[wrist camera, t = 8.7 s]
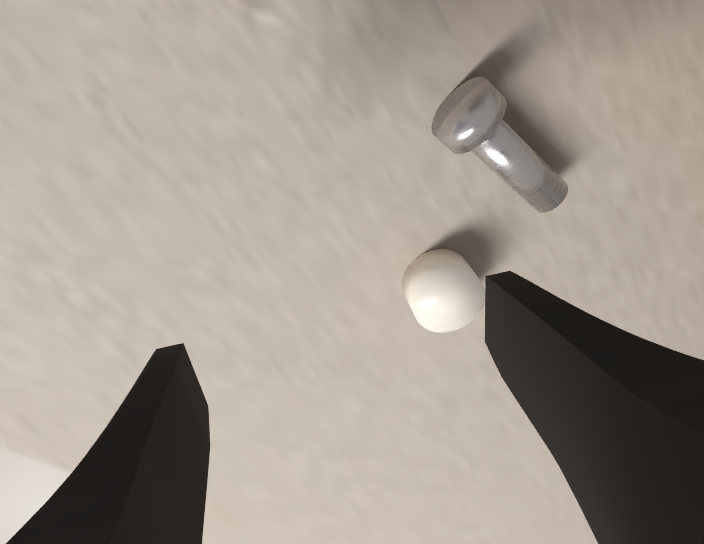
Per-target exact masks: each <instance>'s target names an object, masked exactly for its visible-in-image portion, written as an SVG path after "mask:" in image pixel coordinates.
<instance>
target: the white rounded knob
mask: <svg viewBox="0 0 704 544" xmlns="http://www.w3.org/2000/svg"><path fill="white" fill-rule="evenodd" d="M402 289H403V292H404V295H405V297H406V299H407V301H408V303H409V305H410V307H411V309H412V311H413V313H414V315H415V317H416V319H417V321H418V322H419V324H420V325H421V326H423V327H424V328H426V329H427V330H430V331H433V332H450V331H454V330H457V329H459V328H462V327H463V326H465V325H467V324H468V323H470V322H471V321H472V320H473V319H474V318H475V317H476V316H477V315H478V313H479V312H480V310H481V309H482V306H483V304H484V301H485V289H484V286H483V284H482V282H481V281H480V279H479V278H478V277H477V275H476V274H475V273H474V271H473V270H472V268H471V267H470V266H469V264H468V263H467V262H466V260H465V259H464V258H463V257H462V256H461V255H460V254H459V253H457V252H455V251H453V250H449V249H436V250H431V251H428V252H426V253H424V254H422V255H420V256H419V257H417V258H416V259H415V260H414V261H413V262H412V263H411V264H410V265H409V266H408V268H407V269H406V271H405V273H404V276H403V280H402Z"/></svg>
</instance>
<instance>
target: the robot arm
mask: <svg viewBox="0 0 704 544" xmlns="http://www.w3.org/2000/svg"><path fill="white" fill-rule="evenodd" d="M485 343H486V345H487V347H488V349H489V351H490V354H491V356H492V358H493V360H494V362H495V364H496V366H497V368H498V370H499V372H500V374H501V376H502V378H503V380H504V381H505V383H506V384H507V386H508V387H509V389H510V391H511V392H512V394H513V395H514V397H515V398H516V400H517V401H518V403H519V404H520V406H521V407H522V409H523V411H524V412H525V414H526V415H527V417H528V418H529V420H530V421H531V423H532V424H533V426H534V427H535V429H536V430H537V432H538V433H539V435H540V436H541V438H542V439H543V441H544V442H545V444H546V445H547V447H548V449H549V450H550V452H551V453H552V455H553V457H554V458H555V460H556V462H557V463H558V465H559V467H560V469H561V470H562V472H563V474H564V476H565V478H566V480H567V482H568V484H569V486H570V488H571V490H572V492H573V494H574V496H575V498H576V499H577V501H578V503H579V505H580V507H581V509H582V511H583V513H584V515H585V517H586V520H587V522H588V524H589V526H590V528H591V530H592V532H593V534H594V536H595V538H596V540H597V542H598V544H704V360H701V359H698V358H694V357H691V356H688V355H685V354H683V353H680V352H677V351H674V350H671V349H669V348H666V347H663V346H661V345H658V344H656V343H653V342H650V341H648V340H645V339H643V338H640V337H638V336H636V335H633V334H631V333H629V332H626V331H624V330H622V329H620V328H618V327H615V326H613V325H611V324H609V323H607V322H605V321H603V320H601V319H599V318H597V317H595V316H593V315H591V314H589V313H587V312H585V311H583V310H581V309H579V308H577V307H575V306H573V305H571V304H569V303H568V302H566V301H564V300H562V299H560V298H558V297H557V296H555V295H553V294H551V293H549V292H548V291H546V290H544V289H542V288H541V287H539V286H537V285H535V284H533V283H532V282H530V281H528V280H526V279H524V278H523V277H521V276H519V275H517V274H515V273H513V272H511V271H507V272H502V273H498V274H493V275H489V276H486V288H485ZM209 453H210V432H209V412H208V404H207V402H206V399H205V397H204V394H203V392H202V389H201V387H200V384H199V382H198V379H197V377H196V374H195V371H194V369H193V366H192V364H191V361H190V359H189V356H188V354H187V351H186V349H185V346H184V344H183V343H182V344H177V345H173V346H168V347H164V348H159V349H156V351H155V352H154V353H153V355H152V356H151V358H150V360H149V361H148V363H147V364H146V366H145V368H144V369H143V371H142V373H141V374H140V376H139V377H138V379H137V381H136V382H135V384H134V385H133V387H132V389H131V390H130V392H129V393H128V395H127V397H126V398H125V400H124V401H123V403H122V404H121V406H120V407H119V409H118V410H117V412H116V413H115V415H114V416H113V418H112V419H111V421H110V422H109V424H108V425H107V427H106V428H105V430H104V431H103V432H102V434H101V435H100V436H99V438H98V439H97V441H96V442H95V443H94V445H93V446H92V447H91V449H90V450H89V451H88V453H87V454H86V456H85V457H84V458H83V460H82V461H81V462H80V463H79V465H78V466H77V467H76V468H75V470H74V471H73V472H72V473H71V474H70V476H69V477H68V478H67V479H66V480H65V481H64V483H63V484H62V485H61V486H60V487H59V489H57V491H56V492H55V493H54V494H53V495H52V496H51V498H50V499H49V500H48V501H47V502H46V503H45V504H44V505H43V506H42V507H41V508H40V509H39V510H38V511H37V512H36V514H34V515H33V516H32V517H31V519H30V520H29V521H28V522H27V523H26V524H25V525H24V526H23V527H22V528H21V529H20V530H19V531H18V532H17V533H16V534H15V535H14V536H13V537H12V538H11V539H10V540H9V541H8V542H7V543H6V544H202V535H203V523H204V512H205V501H206V490H207V478H208V466H209Z"/></svg>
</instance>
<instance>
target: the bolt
mask: <svg viewBox="0 0 704 544" xmlns="http://www.w3.org/2000/svg"><path fill="white" fill-rule="evenodd" d="M506 107H507V103H506V99H505V97H504V96H503V95H502V94H501V93H500V92H499V91H498V90H497V89H496V88H495V87H494V86H493V85H492V84H491V83H490V82H489V81H488V80H487V79H486V78H485V77H481V76H480V77H475V78H472V79H470V80H468V81H466V82H464V83H463V84H461V85H460V86H459V87H457V88H456V89H455V90H454V91H453V92H452V93H451V94H450V95H449V96H448V97H447V98H446V99H445V101H444V102H443V103H442V105H441V106H440V108H439V109H438V111H437V113H436V115H435V117H434V119H433V123H432V133H433V135H434V136H435V137H436V138H438V139H439V140H440V141H441V142H442V143H443V144H444V145H445V146H446V147H448V148H449V149H450V150H451V151H452V152H453V153H456V154H462V153H466V152H469V151H472V152H473V153H475V154H476V155H477V156H478V157H479V158H480V159H481V160H482V161H483V162H484V163H485V164H486V165H488V166H489V167H490V168H491V169H492V170H493V171H494V172H495V173H496V174H497V175H498V176H500V177H501V178H502V179H503V180H504V181H505V182H506V183H507V184H508V185H509V186H510V187H511V188H513V189H514V190H515V191H516V192H517V193H518V194H519V195H520V196H521V197H522V198H523V199H525V200H526V201H527V202H528V203H529V204H530V205H531V206H532V207H533V208H534V209H535V210H537V211H538V212H548V211H551V210H553V209H554V208H556V207H557V206H558V205H560V204H561V203H562V201H563V200H564V199H565V197H566V195H567V192H568V185H567V184H566V182H565V181H564V180H563V179H562V178H561V177H560V176H559V175H558V174H557V173H556V172H555V171H554V170H553V169H552V168H551V167H550V166H549V165H548V164H547V163H546V162H545V161H544V160H543V159H542V158H541V157H540V156H539V155H538V154H537V153H536V152H535V151H534V150H533V149H532V148H531V147H530V146H529V145H528V144H527V143H526V142H525V141H524V140H523V139H522V138H521V137H520V136H519V135H518V134H517V133H516V132H515V131H514V130H513V129H512V128H511V127H510V126H509V125H508V124H507V123H506V122H505V121H504V120H503V117H504V114H505V111H506Z"/></svg>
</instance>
